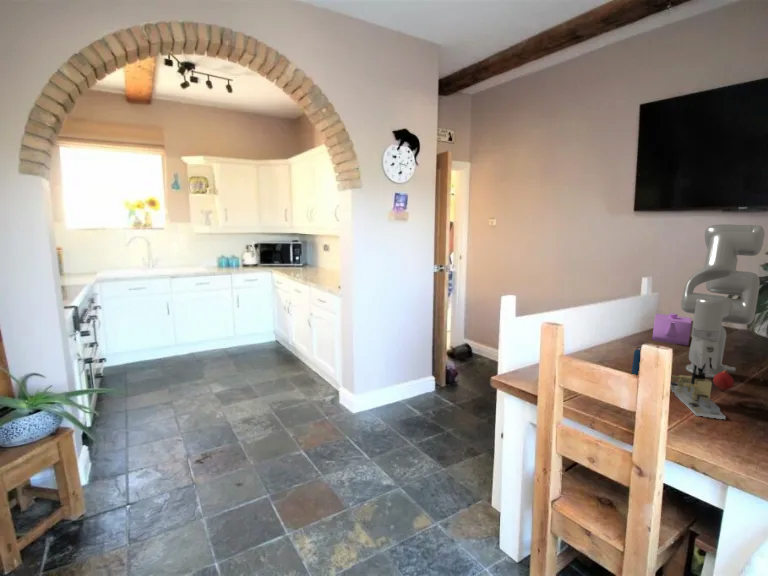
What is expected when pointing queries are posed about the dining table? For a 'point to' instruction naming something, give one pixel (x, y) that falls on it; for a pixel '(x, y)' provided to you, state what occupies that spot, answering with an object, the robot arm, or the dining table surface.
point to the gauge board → (699, 406)
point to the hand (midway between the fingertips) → (697, 384)
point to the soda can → (636, 361)
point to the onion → (723, 380)
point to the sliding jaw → (699, 387)
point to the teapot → (672, 329)
